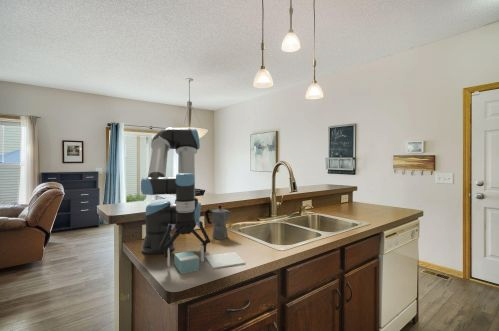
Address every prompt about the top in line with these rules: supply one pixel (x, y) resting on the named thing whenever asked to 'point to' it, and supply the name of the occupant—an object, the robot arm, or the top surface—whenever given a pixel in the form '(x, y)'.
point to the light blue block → (186, 261)
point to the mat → (224, 260)
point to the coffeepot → (218, 222)
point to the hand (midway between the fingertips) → (185, 262)
